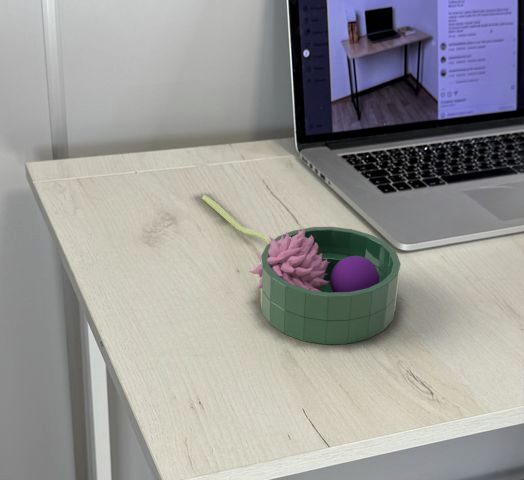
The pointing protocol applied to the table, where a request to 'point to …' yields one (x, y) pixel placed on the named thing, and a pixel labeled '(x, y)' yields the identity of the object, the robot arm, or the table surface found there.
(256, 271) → the artificial flower
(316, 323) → the bowl
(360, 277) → the ball
